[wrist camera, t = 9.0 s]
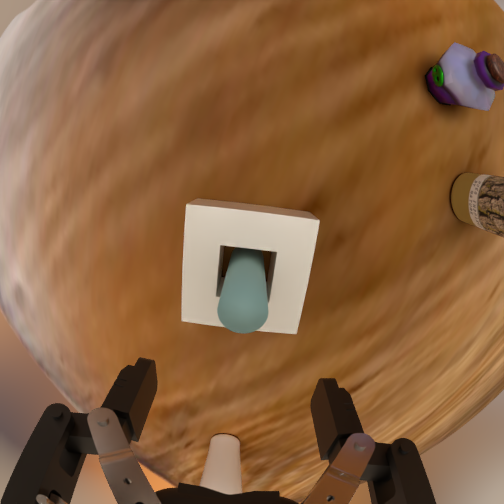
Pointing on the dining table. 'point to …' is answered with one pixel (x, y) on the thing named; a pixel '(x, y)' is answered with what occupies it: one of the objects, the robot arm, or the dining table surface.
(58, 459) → the robot arm
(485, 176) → the paper tube
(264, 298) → the peg
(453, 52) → the potion bottle
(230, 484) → the drinking glass
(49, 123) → the dining table surface
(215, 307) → the socket block
